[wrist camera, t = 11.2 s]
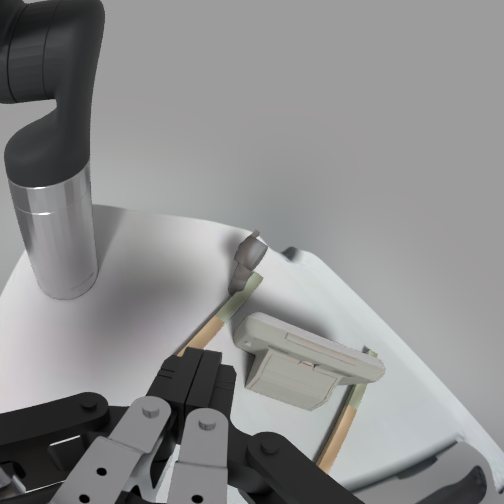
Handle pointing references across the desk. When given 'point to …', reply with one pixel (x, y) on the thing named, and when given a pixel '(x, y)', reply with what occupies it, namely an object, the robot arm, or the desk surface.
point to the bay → (240, 291)
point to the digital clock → (300, 362)
